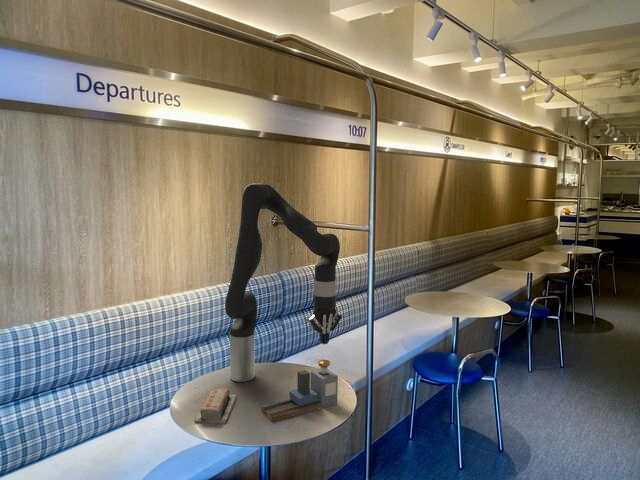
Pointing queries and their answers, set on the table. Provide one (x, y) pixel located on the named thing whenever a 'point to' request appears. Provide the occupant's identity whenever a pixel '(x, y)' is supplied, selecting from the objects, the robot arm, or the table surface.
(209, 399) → the packaged product
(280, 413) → the rail bed
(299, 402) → the carriage
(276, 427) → the table surface
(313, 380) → the end cabinet
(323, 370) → the orange push button
